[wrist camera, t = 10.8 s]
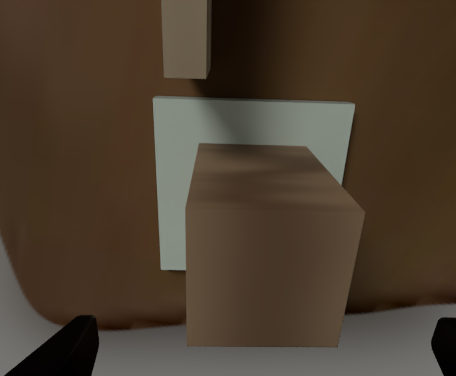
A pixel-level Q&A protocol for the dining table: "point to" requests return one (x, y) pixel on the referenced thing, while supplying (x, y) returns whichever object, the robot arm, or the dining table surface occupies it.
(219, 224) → the block
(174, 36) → the wooden u-shaped frame
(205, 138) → the tile
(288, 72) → the dining table surface
